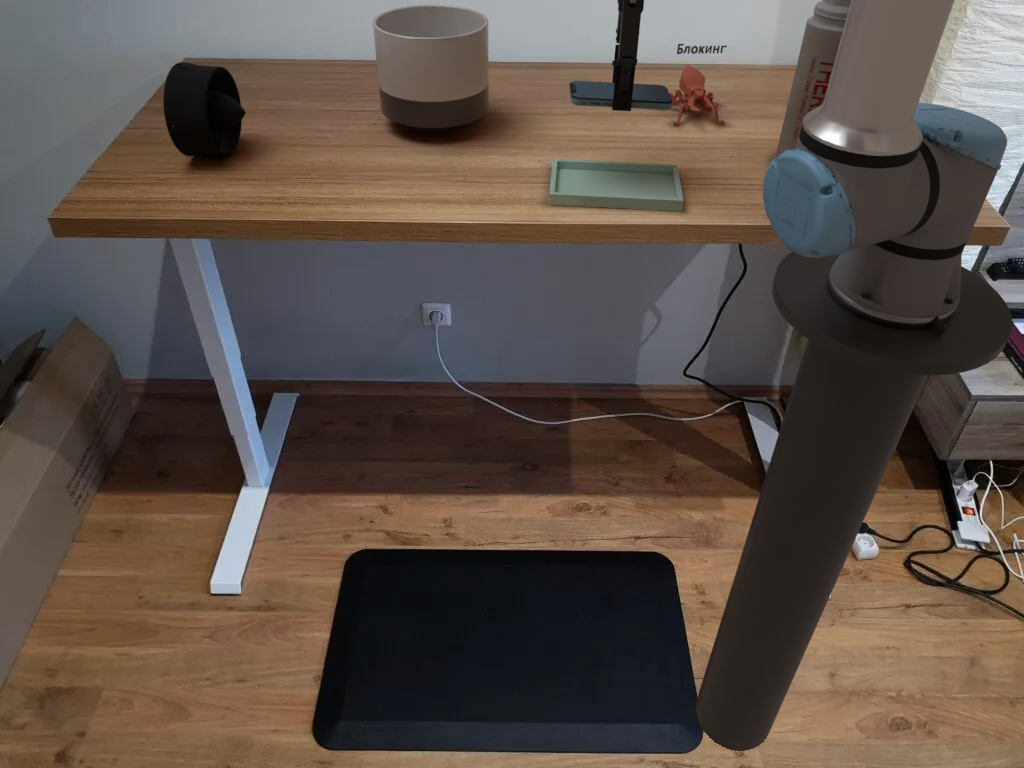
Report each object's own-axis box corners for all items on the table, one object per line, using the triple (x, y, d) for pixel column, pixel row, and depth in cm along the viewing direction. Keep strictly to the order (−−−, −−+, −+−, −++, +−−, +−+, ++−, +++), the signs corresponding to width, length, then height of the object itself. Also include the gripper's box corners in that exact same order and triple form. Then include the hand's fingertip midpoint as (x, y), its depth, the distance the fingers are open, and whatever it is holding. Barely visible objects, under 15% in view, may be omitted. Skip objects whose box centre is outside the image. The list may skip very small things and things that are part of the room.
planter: (361, 132, 142) (349, 27, 131) (416, 97, 156) (410, -2, 144) (457, 153, 136) (454, 44, 125) (506, 114, 149) (507, 13, 138)
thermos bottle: (819, 177, 130) (870, -9, 112) (770, 167, 133) (812, -16, 115) (827, 158, 136) (877, -22, 118) (779, 149, 139) (821, -28, 121)
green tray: (681, 211, 121) (683, 200, 120) (548, 204, 122) (549, 193, 121) (675, 174, 131) (677, 164, 129) (552, 168, 132) (552, 158, 131)
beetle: (651, 101, 155) (659, 33, 147) (713, 100, 156) (725, 32, 148) (669, 132, 144) (680, 60, 136) (736, 130, 145) (751, 59, 137)
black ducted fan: (218, 83, 119) (153, 80, 120) (238, 174, 129) (178, 171, 129) (251, 52, 130) (192, 49, 131) (268, 138, 140) (212, 135, 140)
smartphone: (674, 102, 117) (571, 97, 117) (672, 113, 119) (570, 108, 118) (666, 84, 123) (569, 79, 123) (664, 95, 124) (568, 90, 124)
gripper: (671, -55, 98) (649, 126, 113) (661, -86, 114) (643, 77, 129) (609, -57, 99) (595, 124, 113) (608, -87, 115) (596, 75, 129)
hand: (621, 99), depth 121 cm, fingers closed on smartphone, 8 cm apart
